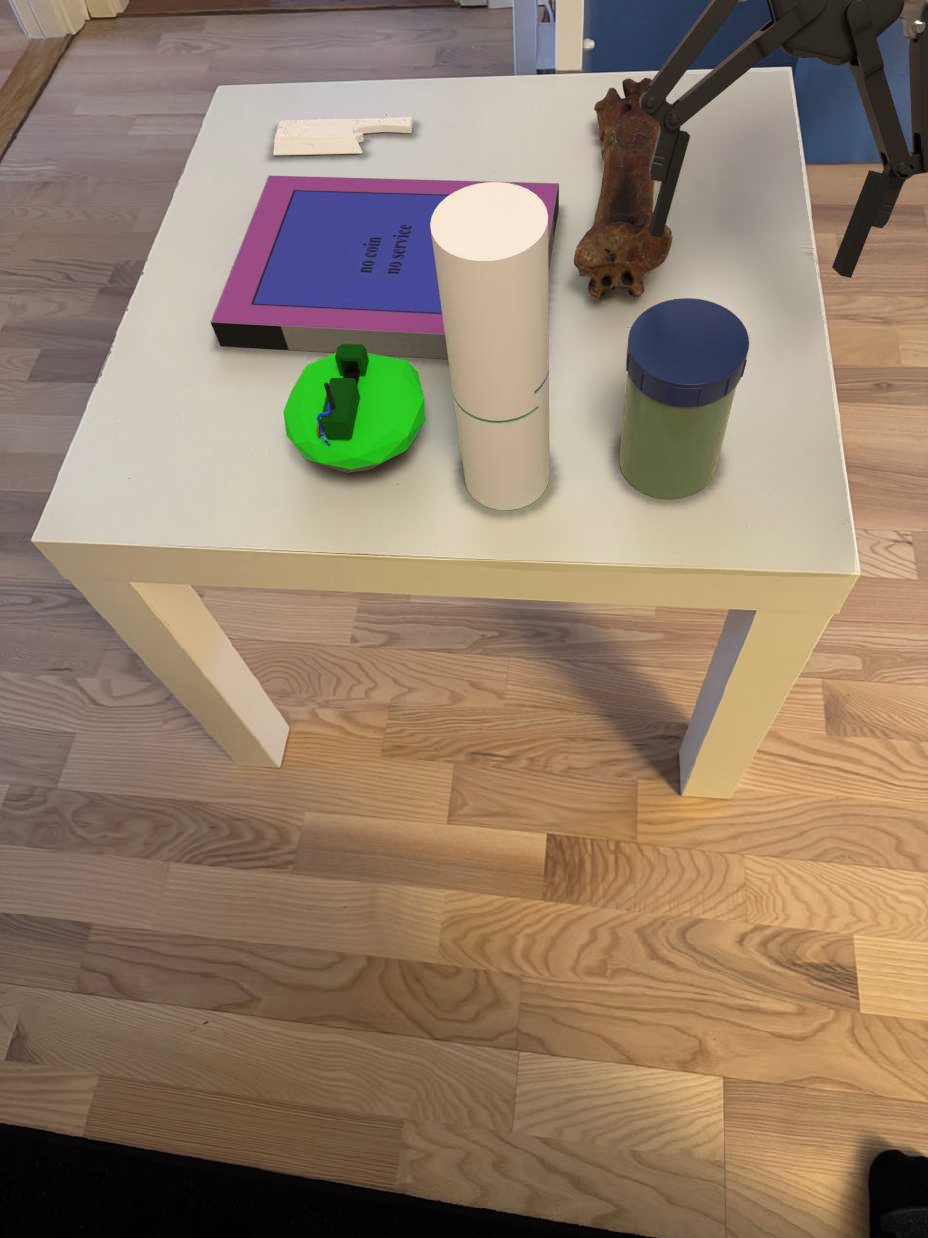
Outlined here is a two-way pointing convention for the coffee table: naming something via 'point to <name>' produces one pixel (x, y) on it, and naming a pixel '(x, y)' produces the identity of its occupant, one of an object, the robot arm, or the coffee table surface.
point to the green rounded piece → (355, 409)
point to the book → (344, 266)
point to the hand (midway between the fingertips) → (748, 253)
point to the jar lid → (686, 352)
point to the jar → (671, 444)
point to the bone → (623, 199)
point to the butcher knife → (332, 134)
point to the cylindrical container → (497, 336)
